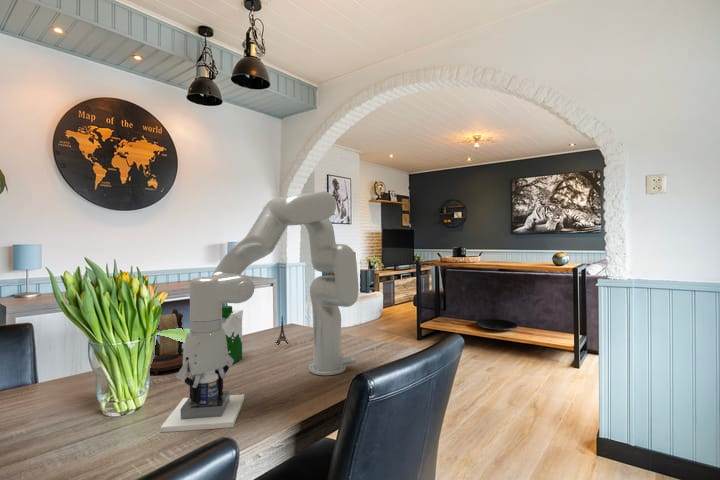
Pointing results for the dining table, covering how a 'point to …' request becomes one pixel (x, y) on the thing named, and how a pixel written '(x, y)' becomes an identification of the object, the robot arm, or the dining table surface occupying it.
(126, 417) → the dining table surface
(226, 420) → the socket board
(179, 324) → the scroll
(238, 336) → the milk carton
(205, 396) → the pill bottle
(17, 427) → the dining table surface
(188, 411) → the socket collar
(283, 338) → the eiffel tower figurine
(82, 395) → the dining table surface
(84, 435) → the dining table surface
